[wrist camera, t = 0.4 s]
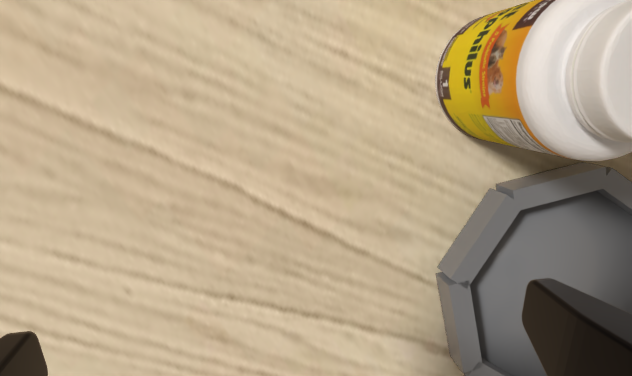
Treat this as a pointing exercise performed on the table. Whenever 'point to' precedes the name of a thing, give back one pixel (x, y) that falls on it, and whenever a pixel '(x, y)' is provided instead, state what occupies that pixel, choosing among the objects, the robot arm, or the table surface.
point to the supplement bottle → (544, 78)
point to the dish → (533, 261)
